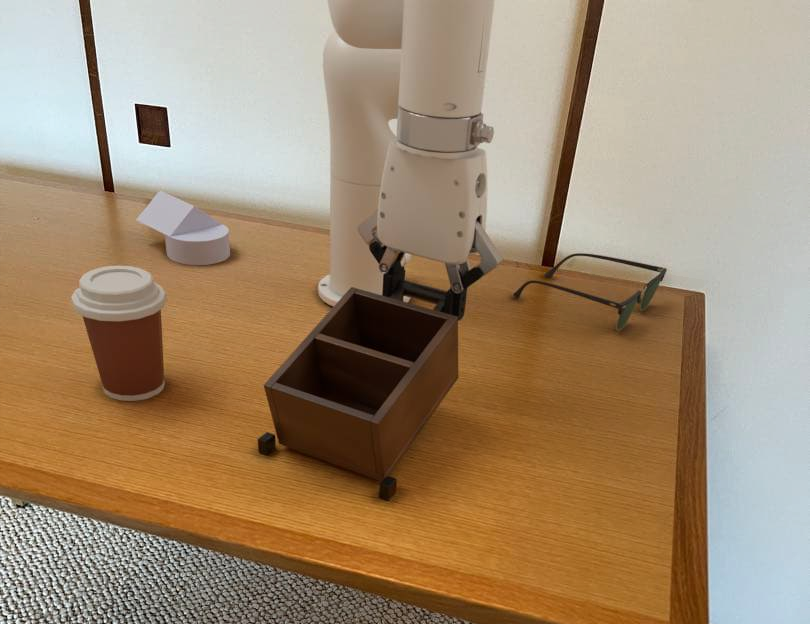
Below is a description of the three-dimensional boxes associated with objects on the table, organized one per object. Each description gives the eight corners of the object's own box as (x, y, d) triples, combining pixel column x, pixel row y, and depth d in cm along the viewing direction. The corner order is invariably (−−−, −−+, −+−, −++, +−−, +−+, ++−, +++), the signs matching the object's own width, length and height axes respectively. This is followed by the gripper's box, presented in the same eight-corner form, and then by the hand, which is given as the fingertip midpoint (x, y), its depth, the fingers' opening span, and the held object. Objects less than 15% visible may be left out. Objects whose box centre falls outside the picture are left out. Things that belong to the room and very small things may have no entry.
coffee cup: (77, 378, 89) (53, 271, 81) (156, 359, 93) (141, 255, 86) (109, 416, 83) (87, 304, 76) (191, 393, 88) (179, 285, 80)
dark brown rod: (267, 445, 81) (267, 431, 80) (396, 492, 76) (397, 478, 75) (258, 452, 80) (257, 438, 79) (388, 501, 75) (388, 487, 74)
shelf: (383, 318, 91) (377, 257, 85) (480, 346, 87) (481, 284, 81) (278, 444, 80) (263, 384, 74) (384, 483, 76) (377, 423, 70)
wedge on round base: (139, 243, 120) (190, 270, 114) (132, 195, 116) (185, 221, 109) (190, 230, 125) (242, 255, 119) (185, 185, 121) (239, 208, 115)
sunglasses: (553, 270, 122) (560, 237, 119) (661, 302, 116) (670, 267, 112) (501, 304, 111) (506, 268, 108) (616, 341, 105) (625, 304, 102)
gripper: (540, 139, 74) (510, 324, 86) (374, 106, 79) (367, 284, 91) (510, 158, 69) (483, 351, 80) (335, 121, 74) (333, 307, 86)
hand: (422, 314), depth 85 cm, fingers closed on shelf, 6 cm apart
